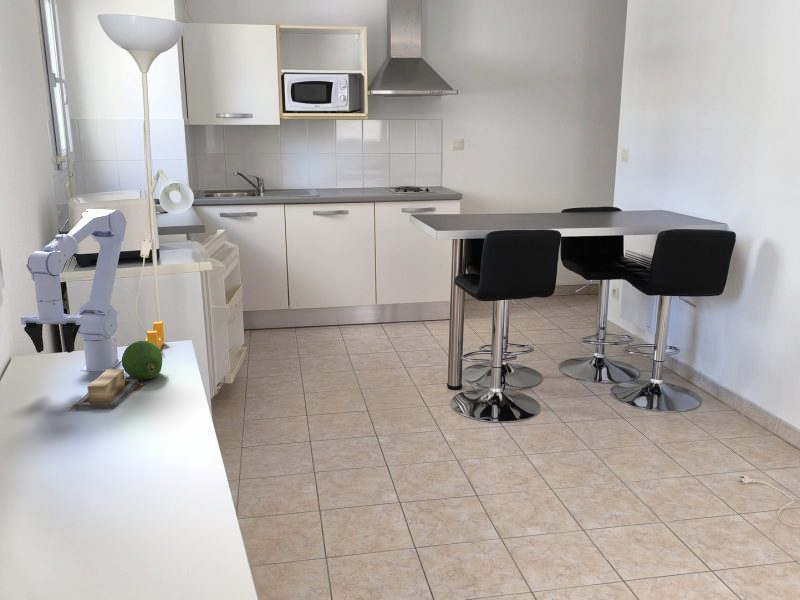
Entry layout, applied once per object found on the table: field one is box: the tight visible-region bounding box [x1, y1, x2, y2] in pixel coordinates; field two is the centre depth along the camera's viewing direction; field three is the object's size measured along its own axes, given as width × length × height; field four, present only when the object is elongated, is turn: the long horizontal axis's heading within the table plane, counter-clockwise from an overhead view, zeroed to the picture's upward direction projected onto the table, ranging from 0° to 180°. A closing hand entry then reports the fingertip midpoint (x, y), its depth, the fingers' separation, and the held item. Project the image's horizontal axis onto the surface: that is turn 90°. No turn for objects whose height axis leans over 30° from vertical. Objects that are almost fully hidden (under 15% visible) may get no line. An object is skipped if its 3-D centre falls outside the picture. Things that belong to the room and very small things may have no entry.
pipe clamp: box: [144, 321, 165, 351], centre depth 216 cm, size 12×4×6 cm, turn 9°
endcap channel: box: [67, 378, 146, 412], centre depth 175 cm, size 18×12×2 cm
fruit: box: [121, 340, 163, 381], centre depth 188 cm, size 15×10×10 cm, turn 29°
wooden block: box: [87, 368, 125, 403], centre depth 174 cm, size 12×4×5 cm, turn 0°
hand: (55, 351), depth 182 cm, fingers open, 7 cm apart
